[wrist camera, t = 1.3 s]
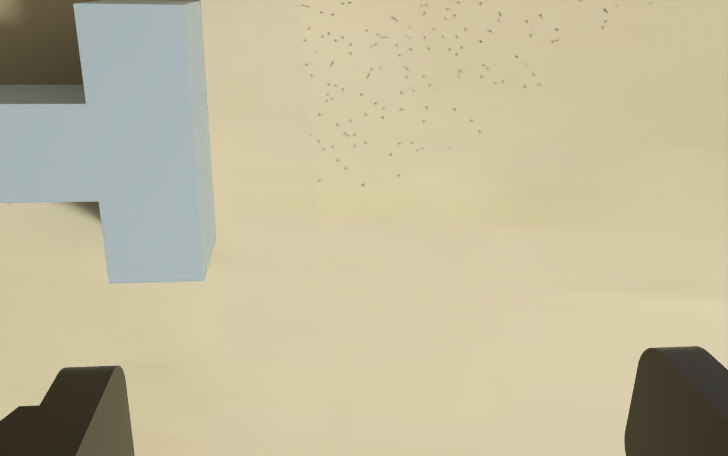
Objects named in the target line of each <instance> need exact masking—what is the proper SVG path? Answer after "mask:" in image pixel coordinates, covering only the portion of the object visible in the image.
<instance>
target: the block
mask: <svg viewBox="0 0 728 456" xmlns="http://www.w3.org/2000/svg"><path fill="white" fill-rule="evenodd" d="M73 7H74V15H75V22H76V30H77V38H78V46H79V54H80V61H81V69H82V77H83V84H0V203H40V202H99V209H100V217H101V224H102V232H103V240H104V248H105V255H106V263H107V271H108V279H109V284H117V283H152V282H187V281H204V279H205V276H206V272H207V269H208V265H209V262H210V258H211V255H212V251H213V248H214V244H215V241H216V228H215V213H214V198H213V183H212V167H211V152H210V137H209V122H208V106H207V91H206V76H205V60H204V45H203V30H202V15H201V1H194V0H98V1H89V2H81V3H73Z"/></svg>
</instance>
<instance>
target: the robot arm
mask: <svg viewBox="0 0 728 456" xmlns="http://www.w3.org/2000/svg"><path fill="white" fill-rule="evenodd" d="M625 452H626V456H728V370H727V369H726V368H725V367H724V366H723V365H722V364H721V363H719V362H718V361H717V360H716V359H715V358H714V357H713V356H712V355H711V354H709V353H708V352H707V351H706V350H705V349H703V348H701V347H697V346H693V347H665V348H648V349H647V350H645V351H644V352H643V354H642V355H641V357H640V360H639V364H638V368H637V374H636V379H635V384H634V389H633V394H632V399H631V405H630V410H629V415H628V420H627V425H626V430H625ZM0 456H134V447H133V439H132V431H131V422H130V414H129V406H128V397H127V389H126V381H125V376H124V372H123V370H122V368H121V367H120V366H97V367H69V368H63V369H62V370H60V372H59V373H58V375H57V377H56V378H55V380H54V382H53V383H52V385H51V387H50V389H49V390H48V392H47V394H46V395H45V397H44V399H43V401H42V402H41V404H40V406H19V407H18V408H17V409H15V410H14V411H13V412H11V413H10V414H9V415H8V416H6V417H5V418H4V419H2V420H1V421H0Z"/></svg>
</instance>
